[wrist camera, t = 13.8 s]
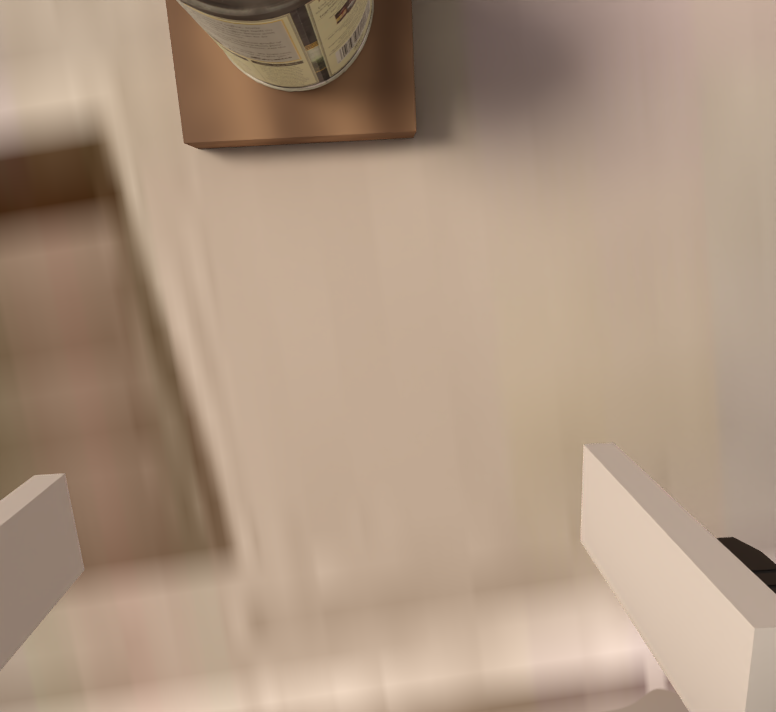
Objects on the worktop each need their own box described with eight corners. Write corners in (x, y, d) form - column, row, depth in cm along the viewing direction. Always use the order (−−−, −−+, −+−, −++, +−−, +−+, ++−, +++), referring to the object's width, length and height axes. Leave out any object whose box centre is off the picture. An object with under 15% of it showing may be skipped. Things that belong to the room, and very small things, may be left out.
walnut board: (403, -113, 36) (406, -143, 33) (413, 137, 39) (416, 131, 36) (167, -102, 36) (148, -131, 33) (198, 148, 39) (184, 143, 36)
